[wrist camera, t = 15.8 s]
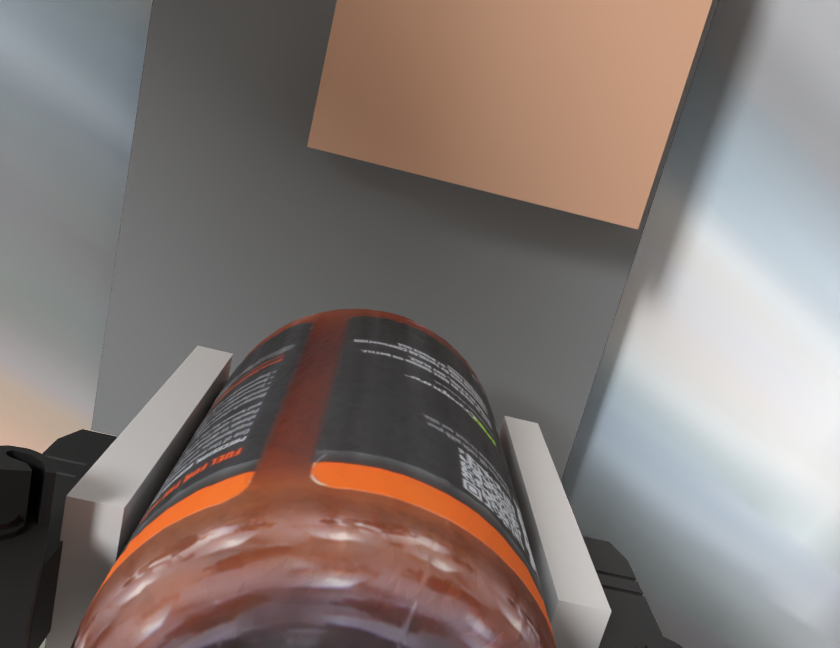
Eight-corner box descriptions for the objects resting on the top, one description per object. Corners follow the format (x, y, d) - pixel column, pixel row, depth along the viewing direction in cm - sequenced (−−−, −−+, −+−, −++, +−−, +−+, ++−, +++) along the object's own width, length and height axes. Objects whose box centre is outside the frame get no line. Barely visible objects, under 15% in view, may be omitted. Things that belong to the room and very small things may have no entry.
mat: (211, -305, 18) (199, -328, 17) (752, -147, 19) (770, -160, 18) (104, 415, 23) (91, 430, 22) (540, 511, 24) (545, 529, 23)
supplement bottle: (192, 510, 18) (-162, 1167, 7) (262, 263, 16) (-51, 599, 5) (444, 582, 18) (489, 1297, 7) (534, 349, 17) (764, 817, 6)
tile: (387, -246, 16) (757, -138, 17) (388, -218, 17) (729, -119, 18) (307, 146, 18) (638, 229, 19) (315, 142, 20) (621, 219, 20)
